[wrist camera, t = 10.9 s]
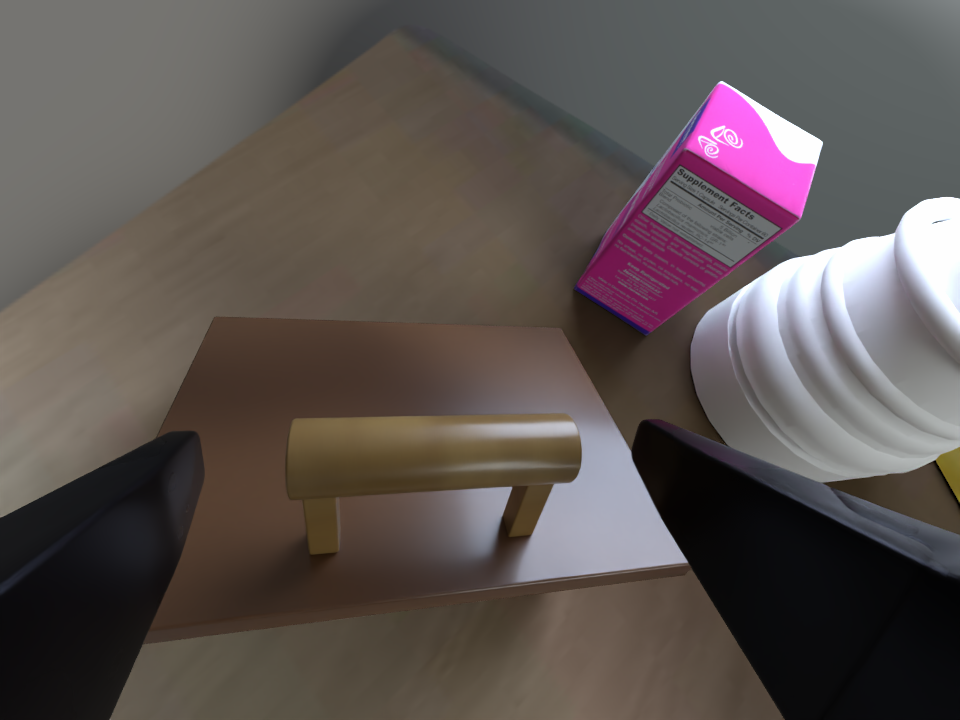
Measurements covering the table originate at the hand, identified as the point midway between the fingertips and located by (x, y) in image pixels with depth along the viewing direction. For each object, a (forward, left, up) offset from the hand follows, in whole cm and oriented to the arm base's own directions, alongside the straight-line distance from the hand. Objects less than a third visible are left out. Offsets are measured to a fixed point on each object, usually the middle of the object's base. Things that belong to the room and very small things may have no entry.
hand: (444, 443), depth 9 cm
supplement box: (+19, +4, -13) cm, 24 cm away
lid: (+1, +1, -6) cm, 6 cm away
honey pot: (+24, -7, -13) cm, 29 cm away
